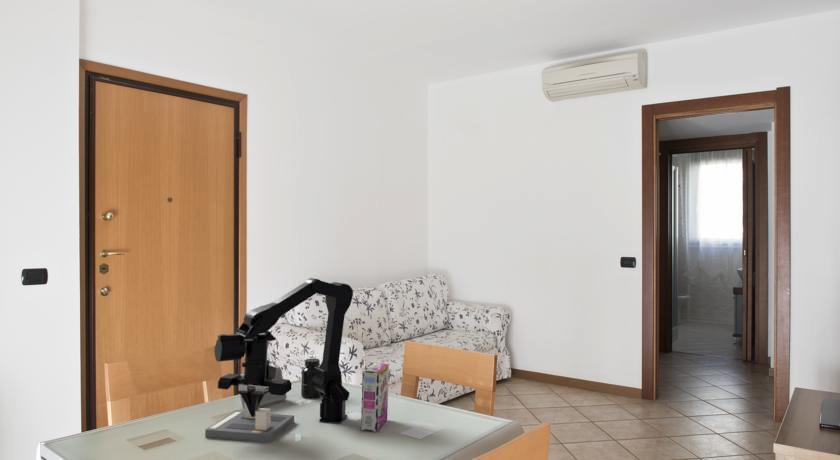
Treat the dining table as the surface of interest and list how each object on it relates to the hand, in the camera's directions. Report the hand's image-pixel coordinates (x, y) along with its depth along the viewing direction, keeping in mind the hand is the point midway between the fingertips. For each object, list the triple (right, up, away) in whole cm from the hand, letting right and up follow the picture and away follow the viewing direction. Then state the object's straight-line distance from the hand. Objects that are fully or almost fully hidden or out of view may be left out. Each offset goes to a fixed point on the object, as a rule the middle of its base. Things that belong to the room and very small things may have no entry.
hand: (253, 416), depth 151 cm
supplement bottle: (+8, -6, +37) cm, 38 cm away
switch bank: (-2, -5, +4) cm, 7 cm away
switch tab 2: (+3, -3, 0) cm, 4 cm away
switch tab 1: (-3, -3, +9) cm, 10 cm away
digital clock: (-5, -6, +27) cm, 28 cm away
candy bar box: (+32, -6, +9) cm, 34 cm away
